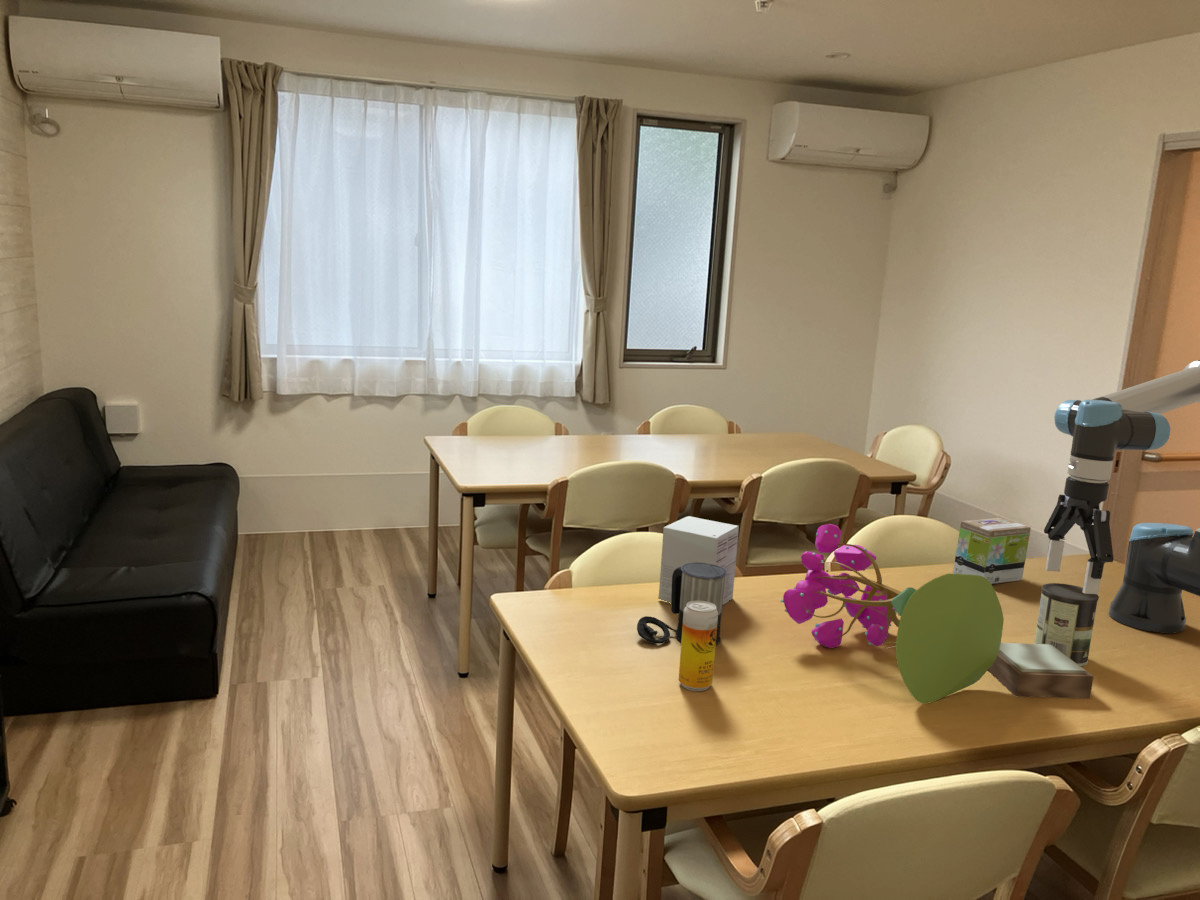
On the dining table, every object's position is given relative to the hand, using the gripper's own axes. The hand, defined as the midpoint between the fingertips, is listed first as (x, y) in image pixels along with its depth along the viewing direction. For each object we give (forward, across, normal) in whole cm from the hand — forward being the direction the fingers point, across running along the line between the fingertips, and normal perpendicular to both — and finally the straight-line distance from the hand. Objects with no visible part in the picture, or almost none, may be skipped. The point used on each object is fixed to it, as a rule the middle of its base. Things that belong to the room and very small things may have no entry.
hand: (1070, 581), depth 182 cm
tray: (+16, +12, -12) cm, 23 cm away
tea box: (+16, -50, +9) cm, 53 cm away
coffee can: (+16, 0, 0) cm, 16 cm away
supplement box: (+17, -26, -71) cm, 77 cm away
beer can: (+17, +18, -78) cm, 81 cm away
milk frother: (+17, -3, -78) cm, 80 cm away
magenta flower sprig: (+17, +3, -39) cm, 42 cm away
